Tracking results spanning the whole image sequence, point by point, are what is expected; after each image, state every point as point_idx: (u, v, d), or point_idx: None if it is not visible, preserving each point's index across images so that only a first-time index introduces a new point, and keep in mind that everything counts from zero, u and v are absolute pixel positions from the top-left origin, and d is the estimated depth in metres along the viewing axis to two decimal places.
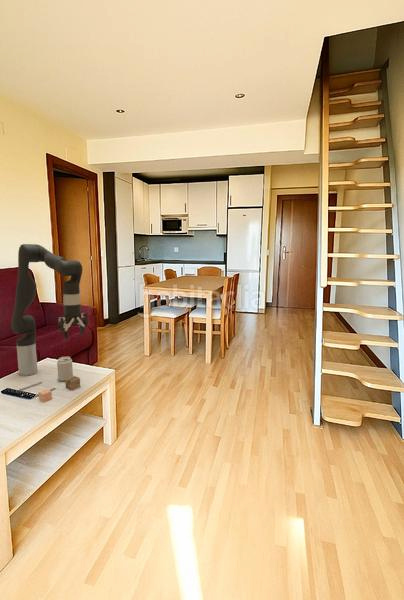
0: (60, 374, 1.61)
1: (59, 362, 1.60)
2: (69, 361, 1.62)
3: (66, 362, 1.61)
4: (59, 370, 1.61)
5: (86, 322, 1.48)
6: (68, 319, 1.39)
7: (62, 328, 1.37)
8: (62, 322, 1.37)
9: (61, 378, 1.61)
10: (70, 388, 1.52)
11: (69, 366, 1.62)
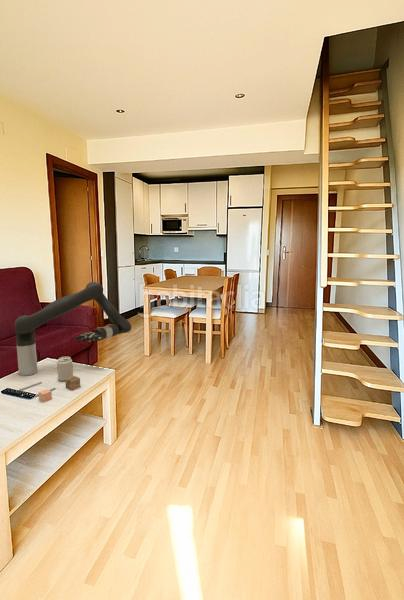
0: (60, 374, 1.61)
1: (59, 362, 1.60)
2: (69, 361, 1.62)
3: (66, 362, 1.61)
4: (59, 370, 1.61)
5: None
6: None
7: None
8: None
9: (61, 378, 1.61)
10: (70, 388, 1.52)
11: (69, 366, 1.62)
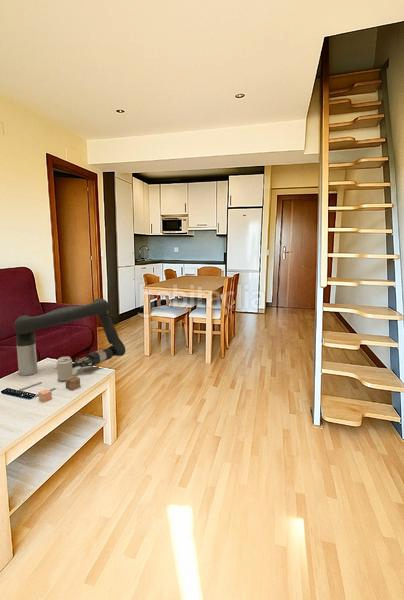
0: (60, 374, 1.61)
1: (59, 362, 1.60)
2: (69, 361, 1.62)
3: (66, 362, 1.61)
4: (59, 370, 1.61)
5: None
6: None
7: None
8: None
9: (61, 378, 1.61)
10: (70, 388, 1.52)
11: (69, 366, 1.62)
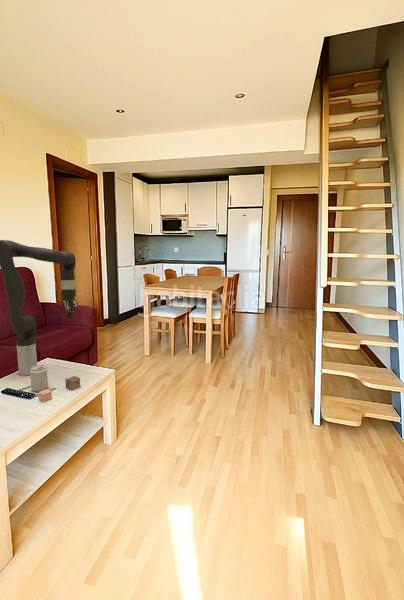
0: (34, 384, 1.48)
1: (33, 371, 1.48)
2: (44, 370, 1.50)
3: (41, 371, 1.49)
4: (33, 380, 1.48)
5: None
6: None
7: None
8: None
9: (35, 388, 1.48)
10: (70, 388, 1.52)
11: (44, 375, 1.50)
